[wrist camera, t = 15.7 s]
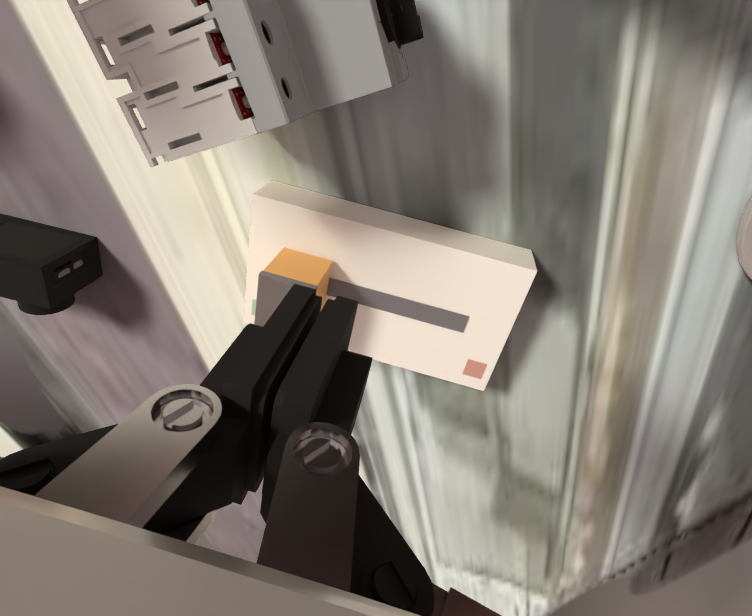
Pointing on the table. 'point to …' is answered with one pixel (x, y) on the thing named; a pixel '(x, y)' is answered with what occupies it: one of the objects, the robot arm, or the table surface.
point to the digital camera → (44, 264)
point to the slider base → (399, 280)
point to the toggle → (289, 280)
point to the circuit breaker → (242, 62)
